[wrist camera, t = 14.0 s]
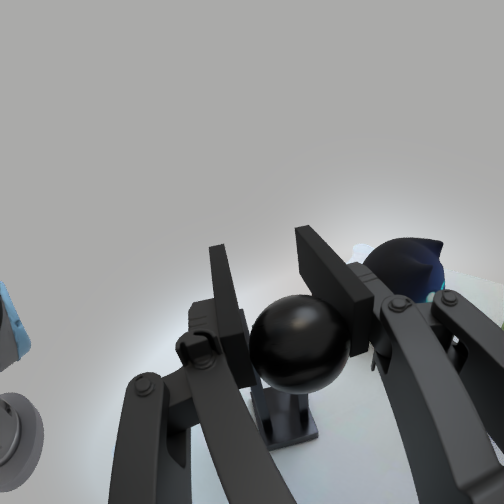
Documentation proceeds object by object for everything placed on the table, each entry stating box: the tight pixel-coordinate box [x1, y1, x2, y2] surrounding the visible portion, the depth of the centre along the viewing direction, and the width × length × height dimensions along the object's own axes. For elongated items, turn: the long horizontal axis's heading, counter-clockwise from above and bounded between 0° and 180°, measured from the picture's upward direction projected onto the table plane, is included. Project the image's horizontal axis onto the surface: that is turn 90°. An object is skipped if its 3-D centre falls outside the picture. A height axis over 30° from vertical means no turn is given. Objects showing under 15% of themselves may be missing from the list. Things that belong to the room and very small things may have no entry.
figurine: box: [363, 238, 445, 303], centre depth 38 cm, size 15×13×13 cm
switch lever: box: [249, 295, 350, 394], centre depth 16 cm, size 17×4×4 cm
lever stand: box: [239, 309, 318, 451], centre depth 26 cm, size 8×6×16 cm
